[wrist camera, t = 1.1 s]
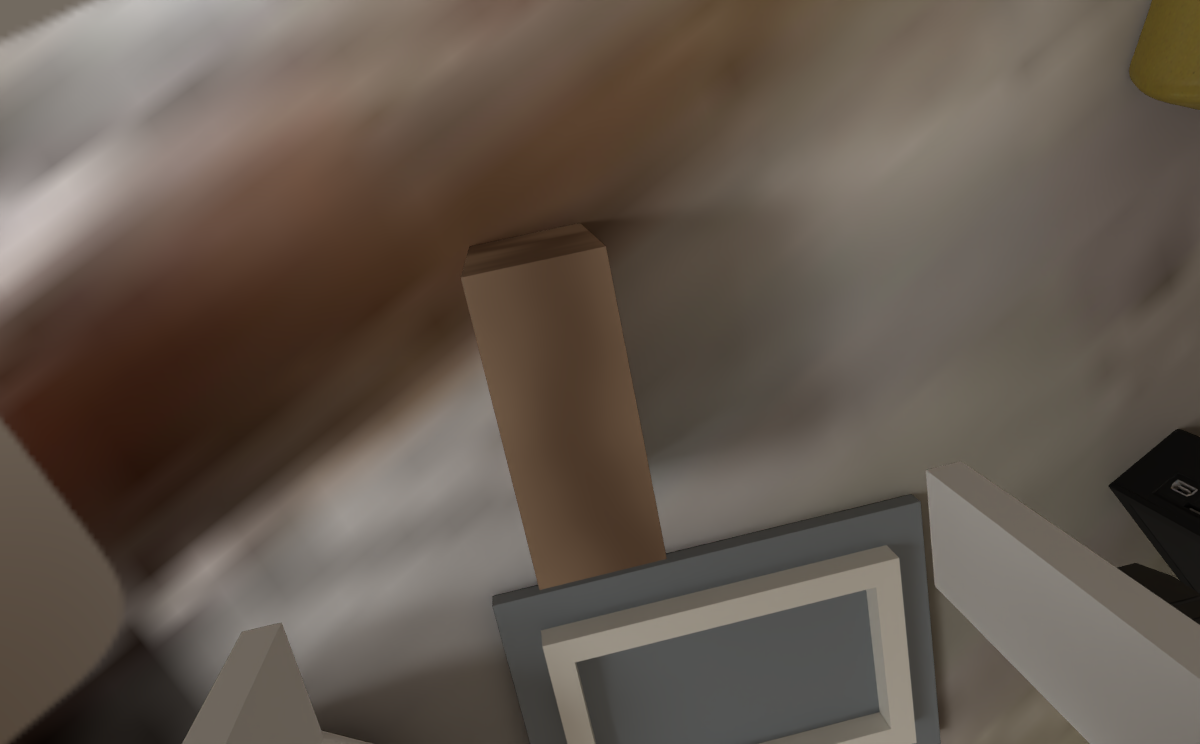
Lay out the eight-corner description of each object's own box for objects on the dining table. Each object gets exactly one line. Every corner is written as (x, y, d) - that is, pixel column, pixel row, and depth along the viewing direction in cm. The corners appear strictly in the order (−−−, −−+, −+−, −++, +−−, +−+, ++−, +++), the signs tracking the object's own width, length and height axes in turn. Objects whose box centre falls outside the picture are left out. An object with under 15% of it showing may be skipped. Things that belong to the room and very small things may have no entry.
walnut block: (530, 492, 35) (539, 589, 27) (469, 246, 31) (460, 277, 24) (629, 468, 35) (666, 559, 27) (579, 222, 32) (606, 246, 24)
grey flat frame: (557, 833, 40) (560, 867, 38) (492, 596, 36) (492, 621, 34) (932, 733, 41) (953, 762, 39) (911, 494, 37) (934, 513, 35)
